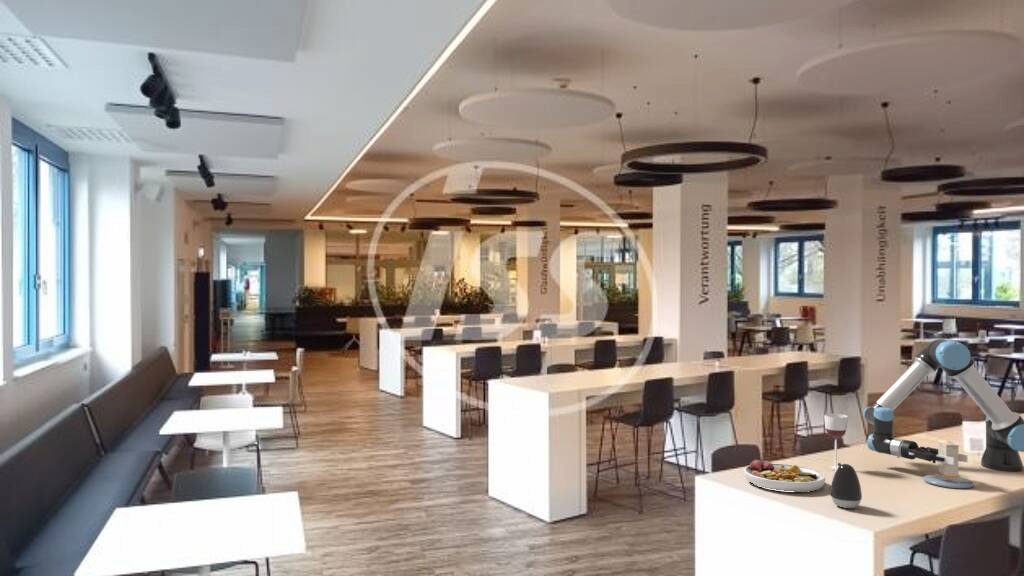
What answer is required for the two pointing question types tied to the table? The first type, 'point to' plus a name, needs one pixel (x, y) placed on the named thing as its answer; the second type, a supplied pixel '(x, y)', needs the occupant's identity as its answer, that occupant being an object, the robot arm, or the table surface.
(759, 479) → the bowl
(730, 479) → the table surface
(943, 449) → the supplement box
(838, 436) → the wineglass
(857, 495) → the black egg-shaped piece
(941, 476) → the dish
